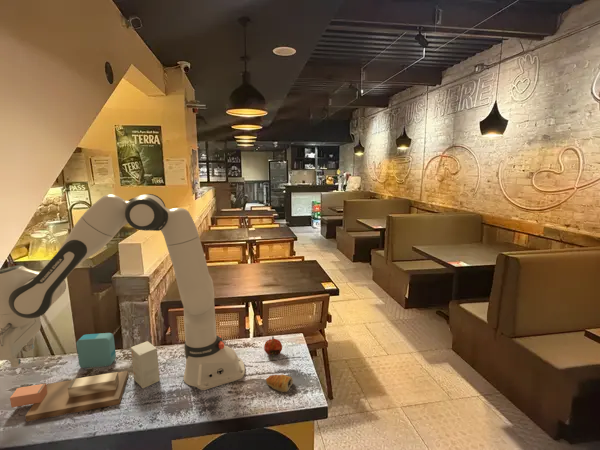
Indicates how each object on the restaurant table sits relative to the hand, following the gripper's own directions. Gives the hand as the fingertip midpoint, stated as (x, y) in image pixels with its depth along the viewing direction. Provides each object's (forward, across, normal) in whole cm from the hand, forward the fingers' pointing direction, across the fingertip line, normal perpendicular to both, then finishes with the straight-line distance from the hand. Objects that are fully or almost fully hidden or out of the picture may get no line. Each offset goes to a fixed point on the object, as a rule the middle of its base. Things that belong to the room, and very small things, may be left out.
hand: (23, 357), depth 108 cm
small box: (+18, +3, -34) cm, 39 cm away
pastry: (+19, -15, -80) cm, 84 cm away
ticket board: (+18, 0, -14) cm, 23 cm away
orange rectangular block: (+15, 0, 0) cm, 15 cm away
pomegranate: (+19, +5, -82) cm, 85 cm away
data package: (+18, +20, -14) cm, 30 cm away
